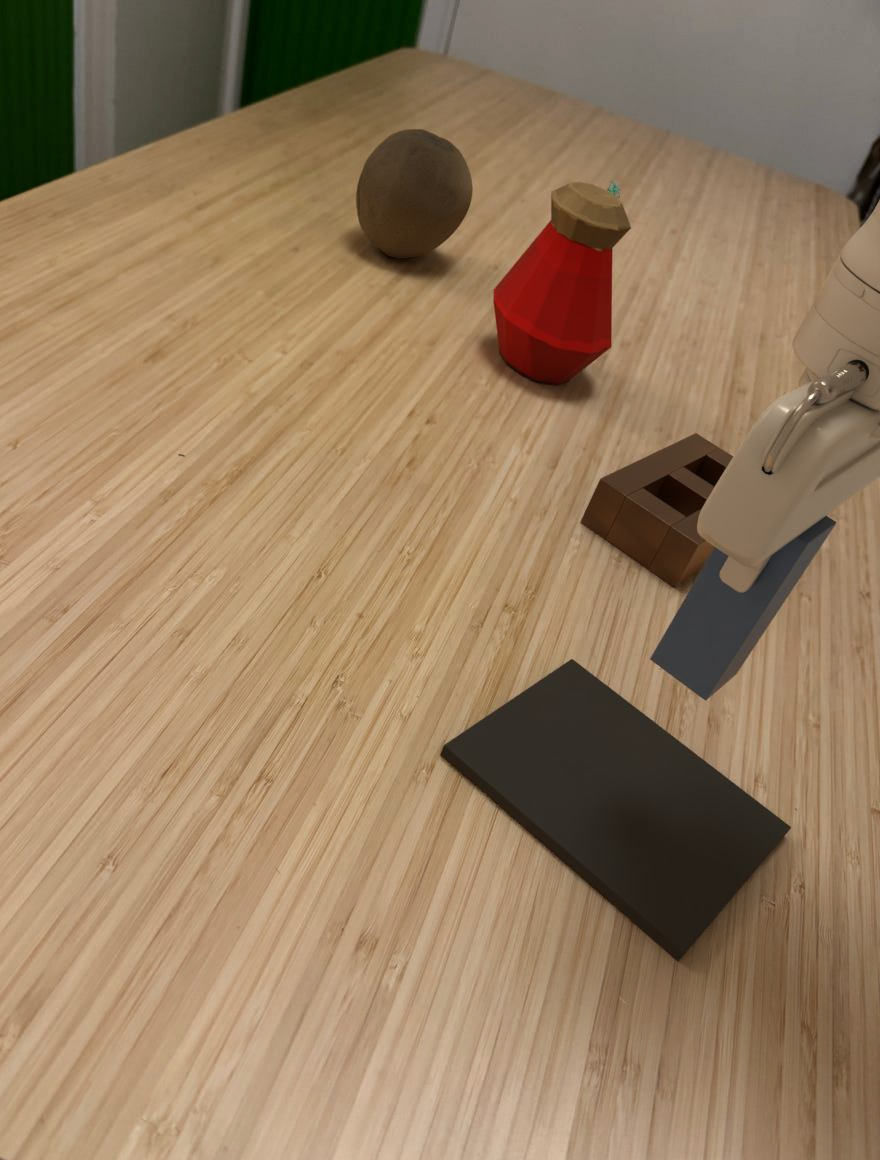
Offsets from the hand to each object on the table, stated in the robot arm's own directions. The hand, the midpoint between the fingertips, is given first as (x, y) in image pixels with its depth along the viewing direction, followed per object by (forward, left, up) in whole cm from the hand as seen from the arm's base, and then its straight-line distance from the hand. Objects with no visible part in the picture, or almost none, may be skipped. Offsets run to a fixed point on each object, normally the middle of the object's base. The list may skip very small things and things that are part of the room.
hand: (757, 567), depth 59 cm
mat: (0, 0, -21) cm, 21 cm away
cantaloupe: (+72, -55, -21) cm, 93 cm away
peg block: (+16, -36, -21) cm, 44 cm away
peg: (0, 0, -8) cm, 8 cm away
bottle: (+44, -49, -21) cm, 69 cm away
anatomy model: (+77, -110, -21) cm, 136 cm away
